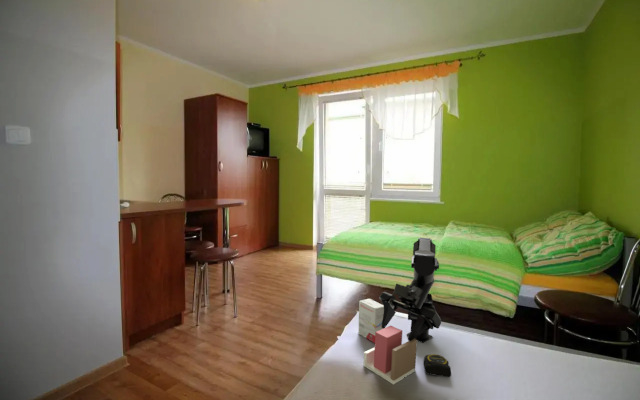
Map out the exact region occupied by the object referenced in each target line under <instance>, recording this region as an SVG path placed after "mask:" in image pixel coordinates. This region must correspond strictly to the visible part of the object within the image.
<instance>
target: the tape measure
mask: <svg viewBox="0 0 640 400" xmlns="http://www.w3.org/2000/svg"><path fill="white" fill-rule="evenodd" d="M423 368H424V372H425V373H426V374H427V375H431V376H437V377H445V378H450V377H452V368H451V366H450V365H449V360H447V358H445V356H443V355H440V354H437V353H429V354H426V355H425V356H424V358H423Z"/></svg>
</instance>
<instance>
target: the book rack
mask: <svg viewBox="0 0 640 400" xmlns="http://www.w3.org/2000/svg"><path fill="white" fill-rule="evenodd" d="M417 346H418V341H417V340H416V339H413V340H411V341H409V340H408V341H406V342H404V343H402V345H400V346H398V347H396V348H394V349H392V365H391V371H389V372H388V373H386V374H385V373H383V372H381V371H380V370H378V369H376V368H375V367H374V351H375V346H374V347H372V348H370V349H368V350H366V351H364V352H363V367H365V368H367V369H368V370H370V371H371V372H373V373H374V374H376V375H378V376H379V377H381V378H382V379H384V380H385V381H388V382H389V383H391V384H392V385H395V384H396V383H397V384H398V382H400V381H402V380H403V379H405V378H407V377H408V376H409V374H410V373H411V374H413V373H414V372H416V362H417V361H416V360H417ZM412 372H413V373H412ZM411 374H410V375H411ZM407 375H408V376H407ZM404 377H405V378H404Z"/></svg>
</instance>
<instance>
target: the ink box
mask: <svg viewBox="0 0 640 400" xmlns="http://www.w3.org/2000/svg"><path fill="white" fill-rule="evenodd" d="M358 304H359V305H358V334H359V335H360V336H362V337H364V338H365V339H367V340H369V341H371V342H372V343H374V344H375V332H377V331H379V330H381V329H383V328H382V320H383V314H384V305H383V304H382V303H381V302H380V303H379V302H378V301H375V300H374V299H372V298H365V299H362V300H361V299H360V300H359V302H358Z"/></svg>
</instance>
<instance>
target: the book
mask: <svg viewBox="0 0 640 400" xmlns="http://www.w3.org/2000/svg"><path fill="white" fill-rule="evenodd" d="M402 344H403V330H402V329H399V328H397V327H395V326H393V325H389V326H388V325H387V326H386V327H385V328H384V329H381V330H379V331H377V332H375V343H374V347H375V351H374V367H375V368H376V369H378V370H380V371H381V372H383V373H385V374H386V373H388V372H389V371H391V365H392V349H394V348H396V347H398V346H400V345H402Z"/></svg>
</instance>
